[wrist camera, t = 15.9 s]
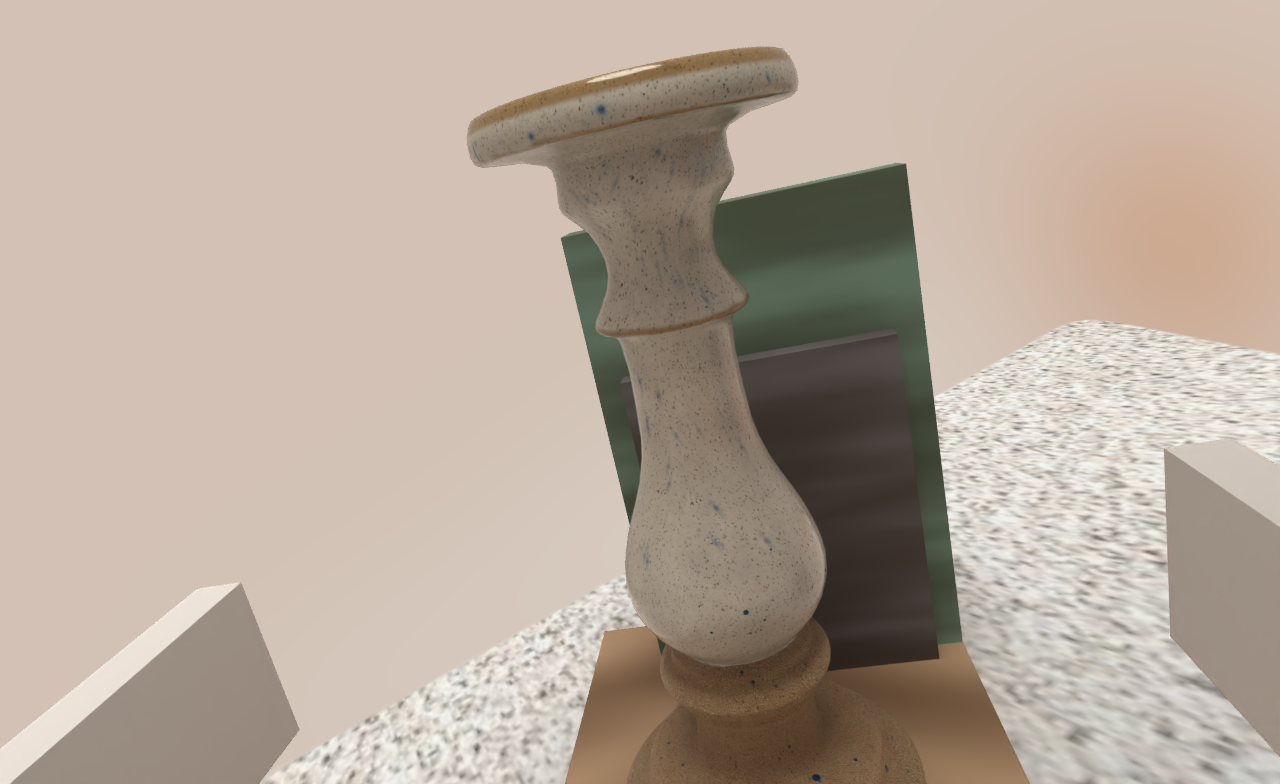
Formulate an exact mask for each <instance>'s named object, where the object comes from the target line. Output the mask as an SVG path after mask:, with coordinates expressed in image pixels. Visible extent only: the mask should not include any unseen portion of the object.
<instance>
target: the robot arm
mask: <svg viewBox="0 0 1280 784" xmlns="http://www.w3.org/2000/svg"><path fill="white" fill-rule="evenodd" d="M1164 461H1165V491H1166V520H1167V549H1168V579H1169V608H1170V636H1171V637H1172V638H1173V640H1174V641H1175V642H1176V643H1177V644H1178V645H1179V646H1180V647H1181V648H1182V649H1183V651H1184V652H1185V653H1186V654H1187V655H1188V656H1189V657H1190V658H1191V659H1192V660H1193V662H1194V663H1195V664H1196V665H1197V666H1198V667H1199V668H1200V669H1201V670H1202V671H1203V673H1204V674H1205V675H1206V676H1207V677H1208V678H1209V679H1210V680H1211V681H1212V682H1213V684H1214V685H1215V686H1216V687H1217V688H1218V689H1219V690H1220V691H1221V692H1222V693H1223V695H1224V696H1225V697H1226V698H1227V699H1228V700H1229V701H1230V702H1231V703H1232V704H1233V706H1234V707H1235V708H1236V709H1237V710H1238V711H1239V712H1240V713H1241V714H1242V716H1243V717H1244V718H1245V719H1246V720H1247V721H1248V722H1249V723H1250V724H1251V725H1252V727H1253V728H1254V729H1255V730H1256V731H1257V732H1258V733H1259V734H1260V735H1261V736H1262V738H1263V739H1264V740H1265V741H1266V742H1267V743H1268V744H1269V745H1270V746H1271V747H1272V749H1273V750H1274V751H1275V752H1276V753H1277V754H1278V755H1279V756H1280V466H1279V465H1277V464H1275V463H1274V462H1272V461H1270V460H1268V459H1267V458H1265V457H1263V456H1261V455H1260V454H1258V453H1256V452H1254V451H1253V450H1251V449H1249V448H1247V447H1246V446H1244V445H1242V444H1240V443H1239V442H1237V441H1235V440H1233V439H1232V438H1230V439H1223V440H1216V441H1209V442H1202V443H1195V444H1188V445H1181V446H1175V447H1168V448H1164ZM298 731H299V727H298V725H297V722H296V720H295V717H294V715H293V712H292V710H291V707H290V705H289V702H288V700H287V697H286V695H285V692H284V690H283V687H282V684H281V682H280V680H279V677H278V675H277V672H276V669H275V667H274V664H273V662H272V659H271V657H270V654H269V652H268V649H267V647H266V644H265V642H264V639H263V637H262V634H261V632H260V629H259V627H258V624H257V622H256V619H255V616H254V614H253V612H252V609H251V606H250V604H249V601H248V599H247V596H246V594H245V591H244V589H243V587H242V584H241V583H233V584H226V585H220V586H212V587H205V588H199V589H197V590H195V591H194V592H193V593H192V594H191V595H189V596H188V597H187V598H185V599H184V600H183V601H182V602H181V603H179V604H178V605H177V606H176V607H174V608H173V609H172V610H171V611H170V612H168V613H167V614H166V615H165V616H163V617H162V618H161V619H160V620H158V621H157V622H156V623H155V624H153V625H152V626H151V627H150V628H148V629H147V630H146V631H145V632H144V633H142V634H141V635H140V636H139V637H137V638H136V639H135V640H134V641H133V642H131V643H130V644H129V645H128V646H126V647H125V648H124V649H123V650H121V651H120V652H119V653H118V654H117V655H115V656H114V657H113V658H112V659H110V660H109V661H108V662H107V663H105V664H104V665H103V666H102V667H100V668H99V669H98V670H97V671H96V672H94V673H93V674H92V675H91V676H89V677H88V678H87V679H86V680H85V681H83V682H82V683H81V684H80V685H78V686H77V687H76V688H75V689H73V690H72V691H71V692H70V693H68V694H67V695H66V696H65V697H63V698H62V699H61V700H60V701H59V702H57V703H56V704H55V705H54V706H52V707H51V708H50V709H49V710H47V711H46V712H45V713H44V714H43V715H41V716H40V717H39V718H38V719H36V720H35V721H34V722H33V723H31V724H30V725H29V726H28V727H27V728H25V729H24V730H23V731H22V732H20V733H19V734H18V735H17V736H15V737H14V738H13V739H12V740H11V741H9V742H8V743H7V744H6V745H4V746H3V747H2V748H1V749H0V784H259V783H260V782H261V780H262V779H263V778H264V776H265V775H266V774H267V772H268V771H269V770H270V768H271V767H272V766H273V764H274V763H275V761H276V760H277V759H278V758H279V756H280V755H281V754H282V752H283V751H284V750H285V748H286V747H287V746H288V744H289V743H290V742H291V740H292V739H293V738H294V736H295V735H296V734H297V732H298Z"/></svg>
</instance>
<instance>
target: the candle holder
mask: <svg viewBox="0 0 1280 784" xmlns="http://www.w3.org/2000/svg"><path fill="white" fill-rule="evenodd" d="M797 87H798V77H797V71H796V68H795V65H794V63H793V61H792V60H791V58H790V56H789V55H788V54H787V53H786V52H785V51H784V50H783V49H781V48H776V47H748V48H738V49H730V50H722V51H716V52H709V53H703V54H698V55H692V56H686V57H682V58H676V59H670V60H666V61H661V62H656V63H651V64H646V65H642V66H637V67H633V68H629V69H624V70H620V71H616V72H612V73H607V74H604V75H600V76H596V77H592V78H588V79H584V80H580V81H577V82H573V83H569V84H566V85H562V86H559V87H555V88H552V89H548V90H545V91H542V92H538V93H535V94H532V95H529V96H526V97H523V98H520V99H517V100H514V101H511V102H509V103H506V104H504V105H501V106H498V107H496V108H494V109H491V110H489V111H487V112H485V113H483V114H481V115H479V116H478V117H476V118H475V119H474V120H473V121H471V122H470V124H469V128H468V134H467V143H468V150H469V154H470V158H471V160H472V161H473V163H474V165H476V166H478V167H482V168H486V167H497V166H505V165H515V164H532V165H538V166H546V167H548V168H549V169H551V170H552V172H553V176H554V178H555V182H556V186H557V195H558V204H559V208H560V210H561V212H562V214H564V215H565V216H566V217H567V218H568V219H570V220H571V221H573V222H574V223H576V224H578V225H579V226H580V227H581V228H583V229H584V230H585V231H586V232H587V233H588V234H589V235H590V236H591V238H592V239H593V240H594V242H595V243H596V244H597V246H598V248H599V250H600V252H601V254H602V256H603V258H604V260H605V263H606V268H607V272H608V282H607V291H606V294H605V297H604V300H603V303H602V306H601V309H600V312H599V314H598V317H597V320H596V331H597V332H598V333H599V334H601V335H603V336H606V337H612V338H616V339H618V341H619V343H620V345H621V348H622V351H623V354H624V357H625V360H626V363H627V367H628V370H629V374H630V379H631V384H632V389H633V394H634V399H635V404H636V410H637V416H638V422H639V428H640V435H641V454H642V458H641V471H640V482H639V487H638V493H637V498H636V502H635V506H634V510H633V514H632V519H631V523H630V528H629V533H628V540H627V549H626V561H625V568H626V582H627V588H628V592H629V595H630V599H631V601H632V604H633V606H634V608H635V610H636V612H637V613H638V615H639V617H640V619H641V620H642V621H643V623H644V624H645V625H646V627H647V628H648V629H649V630H650V631H651V632H652V633H653V634H654V635H655V636H656V637H657V638H659V639H660V640H661V641H662V642H664V643H665V644H666V645H665V647H664V650H663V653H662V656H661V662H660V674H661V679H662V681H663V684H664V686H665V688H666V690H667V691H668V693H669V694H670V696H671V697H673V698H674V699H675V700H676V701H677V702H678V703H680V704H679V705H678V706H677V707H676V708H675V709H674V710H673V711H672V712H671V713H670V714H669V716H668V717H666V718H665V719H664V720H663V721H662V722H661V723H660V724H659V725H658V726H657V727H656V728H655V729H654V730H653V731H652V733H651V734H650V735H649V737H648V738H647V739H646V741H645V742H644V743H643V744H642V746H641V748H640V749H639V751H638V753H637V755H636V757H635V759H634V760H633V763H632V765H631V768H630V771H629V774H628V777H627V782H626V784H926V779H925V773H924V769H923V766H922V763H921V760H920V757H919V754H918V751H917V749H916V747H915V746H914V744H913V742H912V740H911V738H910V737H909V735H908V733H907V732H906V731H905V729H904V728H903V727H902V726H901V725H900V723H899V722H898V721H897V720H896V719H895V718H894V717H893V716H892V715H891V714H890V713H888V712H887V711H886V710H885V709H884V708H883V707H881V706H880V705H878V704H877V703H875V702H874V701H872V700H870V699H869V698H867V697H866V696H864V695H862V694H859V693H857V692H855V691H853V690H851V689H849V688H847V687H843V686H840V685H839V684H836V683H834V682H832V681H830V680H828V679H826V678H823V677H824V675H825V673H826V671H827V670H828V666H829V663H830V653H831V648H830V644H829V640H828V638H827V636H826V634H825V632H824V630H823V628H822V627H821V626H820V625H819V623H818V622H817V621H816V620H815V619H814V618H813V617H812V615H813V614H814V612H815V611H816V609H817V607H818V605H819V602H820V600H821V597H822V594H823V591H824V589H825V584H826V575H827V557H826V550H825V546H824V542H823V539H822V536H821V534H820V531H819V528H818V526H817V524H816V522H815V520H814V519H813V517H812V515H811V513H810V512H809V510H808V508H807V507H806V505H805V503H804V502H803V500H802V498H801V497H800V495H799V494H798V493H797V491H796V490H795V488H794V487H793V486H792V484H791V483H790V481H789V480H788V479H787V478H786V476H785V475H784V474H783V472H782V471H781V470H780V468H779V467H778V466H777V464H776V463H775V461H774V460H773V458H772V457H771V455H770V454H769V452H768V450H767V448H766V446H765V444H764V443H763V441H762V439H761V437H760V435H759V433H758V431H757V428H756V426H755V423H754V421H753V418H752V415H751V411H750V408H749V404H748V400H747V396H746V392H745V388H744V384H743V380H742V376H741V371H740V367H739V362H738V358H737V353H736V349H735V340H734V330H733V314H734V313H735V312H736V311H738V310H740V309H741V308H743V307H744V306H745V305H746V304H747V302H748V301H749V293H748V291H747V289H746V288H745V287H744V286H743V285H742V284H741V283H740V282H739V281H738V280H737V279H736V278H735V277H734V276H733V275H732V274H731V273H730V271H729V270H728V269H727V268H726V267H725V266H724V265H723V263H722V261H721V259H720V258H719V256H718V254H717V252H716V249H715V244H714V239H713V228H714V217H715V213H716V209H717V205H718V203H719V201H720V198H721V197H722V195H723V193H724V191H725V189H726V188H727V186H728V185H729V183H730V182H731V179H732V177H733V175H734V167H733V162H732V159H731V156H730V152H729V149H728V146H727V138H726V130H727V128H728V126H729V125H730V124H731V123H733V122H734V121H736V120H738V119H739V118H740V117H742V116H744V115H745V114H747V113H748V112H750V111H753V110H755V109H759V108H761V107H764V106H767V105H770V104H773V103H776V102H778V101H781V100H784V99H787V98H789V97H791V96H792V95H793V94H794V93H795V92H796V91H797Z"/></svg>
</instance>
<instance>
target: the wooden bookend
mask: <svg viewBox="0 0 1280 784" xmlns="http://www.w3.org/2000/svg"><path fill="white" fill-rule="evenodd" d="M910 203H911V202H910V194H909V186H908V177H907V169H906V164H901V163H894V164H889V165H884V166H880V167H875V168H871V169H866V170H861V171H857V172H852V173H847V174H843V175H838V176H833V177H829V178H824V179H819V180H815V181H810V182H806V183H801V184H796V185H792V186H787V187H783V188H778V189H773V190H768V191H764V192H759V193H754V194H750V195H745V196H741V197H736V198H731V199H727V200H722V201H719V203H718V205H717V209H716V213H715V217H714V228H713V239H714V244H715V249H716V252H717V254H718V256H719V258H720V259H721V261H722V263H723V265H724V266H725V267H726V268H727V269H728V270H729V271H730V273H731V274H732V275H733V276H734V277H735V278H736V279H737V280H738V281H739V282H740V283H741V284H742V285H743V286H744V287H745V288H746V289H747V291H748V293H749V301H748V302H747V304H746V305H745V306H744V307H743V308H741V309H740V310H738V311H736V312H735V313H734V314H733V330H734V340H735V349H736V353H737V358H738V362H739V367H740V371H741V376H742V380H743V384H744V388H745V392H746V396H747V400H748V404H749V408H750V411H751V415H752V418H753V421H754V423H755V426H756V428H757V431H758V433H759V435H760V437H761V439H762V441H763V443H764V444H765V446H766V448H767V450H768V452H769V454H770V455H771V457H772V458H773V460H774V461H775V463H776V464H777V466H778V467H779V468H780V470H781V471H782V472H783V474H784V475H785V476H786V478H787V479H788V480H789V481H790V483H791V484H792V486H793V487H794V488H795V490H796V491H797V493H798V494H799V495H800V497H801V498H802V500H803V502H804V503H805V505H806V507H807V508H808V510H809V512H810V513H811V515H812V517H813V519H814V520H815V522H816V524H817V526H818V528H819V531H820V534H821V536H822V539H823V542H824V546H825V550H826V557H827V575H826V584H825V589H824V591H823V594H822V597H821V600H820V602H819V605H818V607H817V609H816V611H815V612H814V614H813V615H812V617H813V618H814V619H815V620H816V621H817V622H818V623H819V625H820V626H821V627H822V628H823V630H824V632H825V634H826V636H827V638H828V640H829V644H830V648H831V653H830V663H829V666H828V670H827V671H826V673H825V675H824V677H823V678H826V679H828V680H830V681H832V682H834V683H836V684H839V685H840V686H843V687H847V688H849V689H851V690H853V691H855V692H857V693H859V694H862V695H864V696H866V697H867V698H869V699H870V700H872V701H874V702H875V703H877V704H878V705H880V706H881V707H883V708H884V709H885V710H886V711H887V712H888V713H890V714H891V715H892V716H893V717H894V718H895V719H896V720H897V721H898V722H899V723H900V725H901V726H902V727H903V728H904V729H905V731H906V732H907V733H908V735H909V737H910V738H911V740H912V742H913V744H914V746H915V747H916V749H917V751H918V754H919V757H920V760H921V763H922V766H923V769H924V773H925V779H926V784H1030V783H1029V781H1028V779H1027V777H1026V775H1025V772H1024V770H1023V768H1022V766H1021V764H1020V762H1019V760H1018V758H1017V756H1016V754H1015V751H1014V749H1013V747H1012V745H1011V743H1010V741H1009V739H1008V737H1007V735H1006V732H1005V730H1004V728H1003V726H1002V724H1001V722H1000V720H999V718H998V716H997V714H996V711H995V709H994V707H993V705H992V703H991V701H990V699H989V697H988V695H987V693H986V690H985V688H984V686H983V684H982V682H981V680H980V678H979V676H978V674H977V671H976V669H975V667H974V665H973V663H972V661H971V659H970V657H969V655H968V653H967V650H966V648H965V646H964V644H963V642H962V634H961V625H960V617H959V608H958V600H957V592H956V583H955V575H954V566H953V558H952V549H951V541H950V532H949V524H948V515H947V507H946V498H945V490H944V481H943V473H942V465H941V456H940V448H939V439H938V431H937V422H936V414H935V405H934V397H933V389H932V380H931V372H930V363H929V354H928V347H927V338H926V330H925V321H924V313H923V304H922V295H921V287H920V279H919V270H918V262H917V254H916V245H915V237H914V227H913V220H912V211H911V204H910ZM561 241H562V245H563V249H564V253H565V257H566V262H567V266H568V270H569V274H570V278H571V283H572V287H573V291H574V295H575V299H576V303H577V307H578V311H579V316H580V320H581V324H582V328H583V332H584V337H585V341H586V345H587V349H588V353H589V357H590V361H591V365H592V370H593V374H594V378H595V382H596V387H597V391H598V395H599V399H600V403H601V407H602V411H603V416H604V420H605V424H606V428H607V432H608V436H609V441H610V445H611V449H612V453H613V457H614V461H615V466H616V470H617V474H618V478H619V482H620V486H621V491H622V495H623V499H624V503H625V507H626V511H627V515H628V519H629V524H630V523H631V519H632V514H633V510H634V506H635V502H636V498H637V493H638V487H639V482H640V471H641V458H642V454H641V435H640V428H639V422H638V416H637V410H636V404H635V399H634V394H633V389H632V384H631V379H630V374H629V370H628V367H627V363H626V360H625V357H624V354H623V351H622V348H621V345H620V343H619V341H618V339H616V338H612V337H606V336H603V335H601V334H599V333H598V332H597V331H596V320H597V317H598V314H599V312H600V309H601V306H602V303H603V300H604V297H605V294H606V291H607V282H608V272H607V268H606V263H605V260H604V258H603V256H602V254H601V252H600V250H599V248H598V246H597V244H596V243H595V242H594V240H593V239H592V238H591V236H590V235H589V234H588V233H587V232H586V231H585V230H583V231H578V232H574V233H570V234H568V235H566V236H564V237H562V238H561ZM665 645H666V644H665V643H664V642H662V641H661V640H660V639H659V638H657V637H656V636H655V635H654V634H653V633H652V632H651V631H650V630H649V629H648V628H647V627H646V626H645V627H637V628H629V629H621V630H613V631H605V634H604V637H603V641H602V645H601V649H600V653H599V656H598V660H597V664H596V668H595V672H594V676H593V679H592V683H591V687H590V691H589V695H588V698H587V702H586V706H585V710H584V714H583V717H582V721H581V725H580V729H579V733H578V736H577V740H576V744H575V748H574V752H573V755H572V759H571V763H570V767H569V771H568V774H567V778H566V782H565V784H626V782H627V777H628V774H629V771H630V768H631V765H632V763H633V760H634V759H635V757H636V755H637V753H638V751H639V749H640V748H641V746H642V744H643V743H644V742H645V741H646V739H647V738H648V737H649V735H650V734H651V733H652V731H653V730H654V729H655V728H656V727H657V726H658V725H659V724H660V723H661V722H662V721H663V720H664V719H665V718H666V717H668V716H669V714H670V713H671V712H672V711H673V710H674V709H675V708H676V707H677V706H678V705H679V704H680V703H678V702H677V701H676V700H675V699H674V698H673V697H671V696H670V694H669V693H668V691H667V690H666V688H665V686H664V684H663V681H662V679H661V674H660V662H661V656H662V653H663V650H664V647H665Z"/></svg>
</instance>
